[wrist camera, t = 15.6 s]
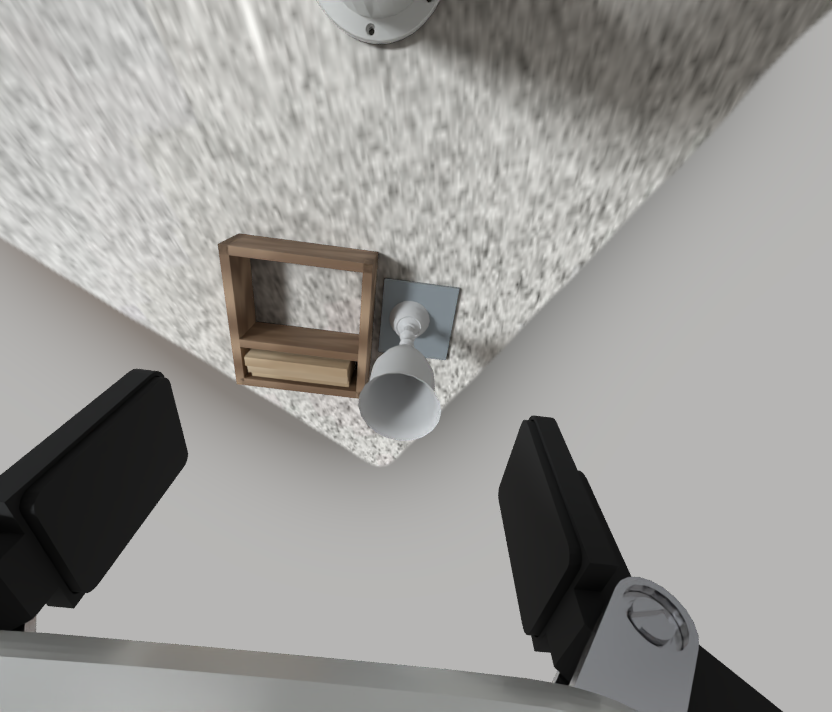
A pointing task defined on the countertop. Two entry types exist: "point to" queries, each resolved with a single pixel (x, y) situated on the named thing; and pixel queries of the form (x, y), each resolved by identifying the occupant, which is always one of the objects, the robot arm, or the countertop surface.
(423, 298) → the mat
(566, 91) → the countertop surface
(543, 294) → the countertop surface
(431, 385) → the chalice
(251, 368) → the offcut stack
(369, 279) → the frame
